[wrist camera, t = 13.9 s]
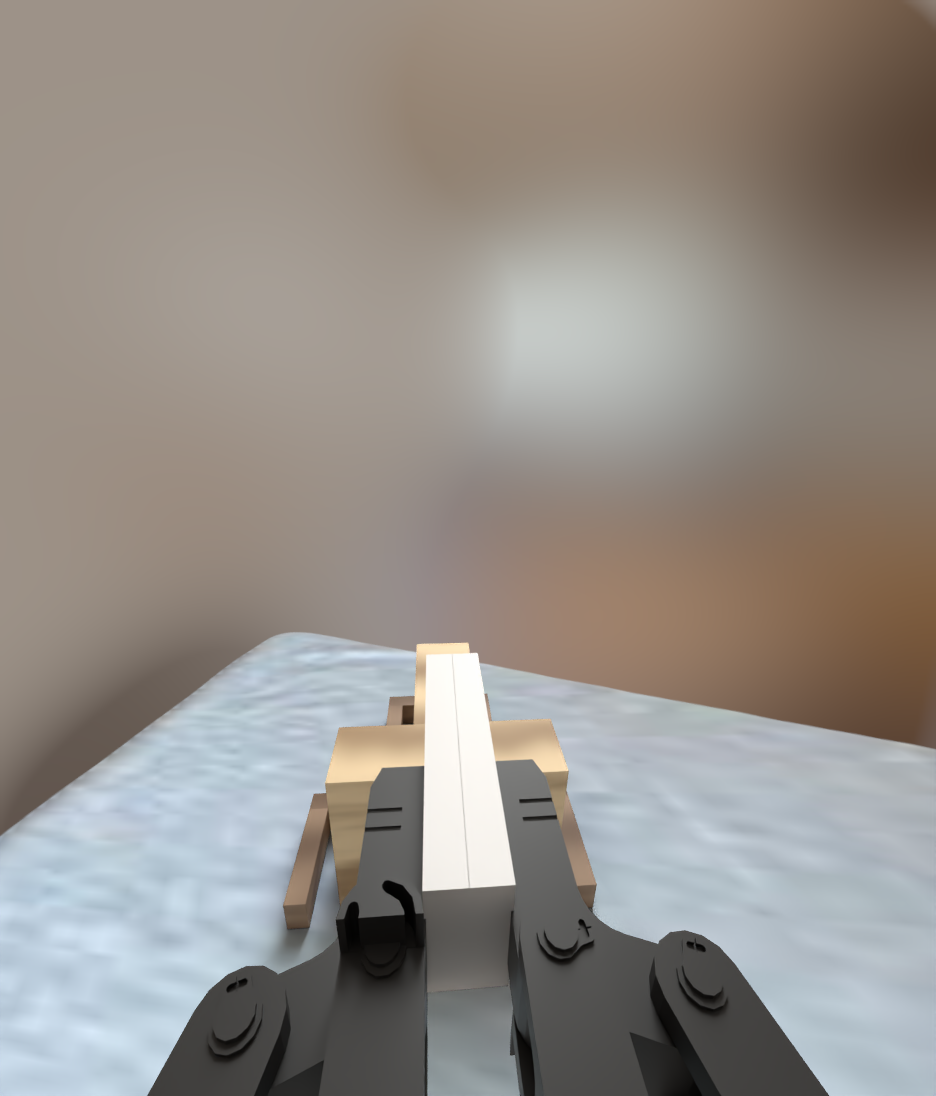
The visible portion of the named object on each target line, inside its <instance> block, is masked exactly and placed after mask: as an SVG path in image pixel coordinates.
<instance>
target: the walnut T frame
mask: <svg viewBox="0 0 936 1096" xmlns="http://www.w3.org/2000/svg"><path fill="white" fill-rule="evenodd" d="M484 695H485V701H486V707H487V713H488V719H489V721H492V719H491V713H490V708H489V702H488V696H487V694H484ZM414 702H415V696H406V697H390V701H389V709H388V717H387V725H386V726H390V725H403V724H409V723H414ZM330 830H331V827H330V819H329V811H328V802H327V794H326V793H323V794H314V796H313V799H312V803H311V806H310V810H309V814H308V817H307V821H306V825H305V828H304V832H303V835H302V839H301V843H300V846H299V850H298V854H297V857H296V861H295V864H294V868H293V872H292V875H291V879H290V882H289V886H288V890H287V893H286V897H285V901H284V904H283V908H284V913H285V918H286V923H287V929H295V928H309V927H310V922H311V918H312V913H313V908H314V904H315V899H316V895H317V890H318V885H319V881H320V876H321V872H322V867H323V863H324V858H325V853H326V849H327V844H328V840H329V835H330ZM561 831H562V834H563V838H564V842H565V845H566V849H567V852H568V856H569V859H570V863H571V866H572V870H573V873H574V877H575V880H576V884H577V887H578V890H579V892H580V895H581V897H582V899H583V901H584V902H585V904H586V905H587V907H588V908H591V907H593V903H594V897H595V891H596V885H597V884H596V881H595V878H594V875H593V872H592V869H591V866H590V863H589V859H588V856H587V853H586V850H585V847H584V844H583V841H582V838H581V835H580V832H579V828H578V825H577V822H576V819H575V816H574V813H573V810H572V807H571V804H570V801H569V797H568V794H567V791H566V796H565V804H564V812H563V820H562V828H561Z"/></svg>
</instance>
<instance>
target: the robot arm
mask: <svg viewBox="0 0 936 1096" xmlns="http://www.w3.org/2000/svg"><path fill="white" fill-rule="evenodd" d="M336 925H337V932H338V938H337V939H336V941H335V942H334V943H333V944H332V945H331V946H329V947H328V948H327V949H326V950H325V951H324V952H323V953H321V954H319V955H318V956H316V957H314V958H312V959H311V960H309V961H307V962H304V963H302V964H300V965H298V966H296V967H293V968H291V969H289V970H287V971H285V972H283V973H280V974H277V973H276V972H274V971H272V970H270V969H268V968H267V967H265V966H246V967H244V968H241V969H239V970H237V971H235V972H232V973H230V974H228V975H227V976H225V977H224V978H223V979H222V980H221V981H220V982H218V983H217V984H216V985H215V986H214V987H212V988H211V989H210V990H209V991H208V993H207V994H206V996H205V997H204V998H203V1000H202V1001H201V1003H200V1004H199V1005H198V1007H197V1008H196V1009H195V1011H194V1013H193V1014H192V1016H191V1018H190V1020H189V1022H188V1023H187V1025H186V1027H185V1029H184V1031H183V1032H182V1034H181V1036H180V1038H179V1040H178V1041H177V1043H176V1045H175V1047H174V1049H173V1050H172V1052H171V1054H170V1056H169V1058H168V1059H167V1061H166V1063H165V1065H164V1067H163V1068H162V1070H161V1072H160V1074H159V1076H158V1077H157V1079H156V1081H155V1083H154V1085H153V1086H152V1088H151V1090H150V1092H149V1094H148V1095H147V1096H427V1050H428V1038H427V993H430V992H442V991H454V990H465V989H477V988H489V987H501V986H508V980H510V988H511V995H512V1003H513V1015H512V1027H511V1041H510V1055H515V1058H516V1066H517V1075H518V1083H519V1091H520V1096H829V1095H828V1093H827V1092H826V1091H825V1089H824V1088H823V1086H822V1085H821V1084H820V1082H819V1081H818V1079H817V1078H816V1077H815V1075H814V1074H813V1072H812V1071H811V1070H810V1068H809V1067H808V1066H807V1064H806V1063H805V1061H804V1060H803V1059H802V1057H801V1056H800V1054H799V1053H798V1052H797V1050H796V1049H795V1047H794V1046H793V1045H792V1043H791V1042H790V1040H789V1039H788V1038H787V1036H786V1035H785V1033H784V1032H783V1031H782V1029H781V1028H780V1026H779V1025H778V1024H777V1022H776V1021H775V1019H774V1018H773V1017H772V1015H771V1014H770V1012H769V1011H768V1010H767V1008H766V1007H765V1005H764V1004H763V1003H762V1001H761V1000H760V999H759V997H758V996H757V994H756V993H755V992H754V990H753V989H752V987H751V986H750V985H749V983H748V982H747V980H746V979H745V978H744V976H743V975H742V973H741V972H740V971H739V969H738V968H737V966H736V965H735V964H734V963H733V961H732V960H731V959H730V958H729V957H728V956H727V955H726V954H725V953H724V952H723V950H722V949H721V948H720V947H719V946H717V945H716V944H714V943H713V942H711V941H710V940H708V939H707V938H705V937H704V936H702V935H699V934H695V933H692V932H689V931H685V930H684V931H677V932H670V933H669V934H668V935H666V936H665V937H664V938H663V939H661V940H660V941H659V944H656V943H653V942H649V941H646V940H643V939H640V938H636V937H633V936H630V935H626V934H623V933H621V932H619V931H616V930H614V929H612V928H610V927H609V926H607V925H606V924H604V923H603V922H601V921H600V920H599V919H598V918H597V917H596V916H595V915H594V914H593V913H592V912H591V911H590V910H589V908H588V907H587V905H586V904H585V902H584V901H583V899H582V897H581V895H580V892H579V890H578V887H577V884H576V880H575V877H574V873H573V870H572V866H571V863H570V859H569V856H568V852H567V849H566V845H565V842H564V838H563V834H562V831H561V827H560V824H559V820H558V819H557V813H556V810H555V806H554V803H553V802H552V796H551V792H550V789H549V785H548V781H547V778H546V776H545V775H544V773H543V772H542V771H541V770H540V768H539V767H538V766H537V764H536V763H535V762H534V761H533V759H528V760H507V761H495V756H494V750H493V744H492V738H491V732H490V726H489V719H488V713H487V707H486V701H485V695H484V689H483V683H482V677H481V671H480V665H479V659H478V654H477V653H464V654H431V655H426V699H425V760H424V766H410V767H389V768H382V769H381V771H380V772H379V774H378V776H377V777H376V779H375V781H374V782H373V784H372V786H371V787H370V794H369V801H368V808H367V815H366V822H365V832H364V836H363V843H362V850H361V857H360V864H359V870H358V877H357V884H356V885H355V886H354V887H353V888H352V889H351V891H350V892H349V893H348V895H347V896H346V897H345V898H344V900H343V901H342V903H341V906H340V909H339V912H338V915H337V918H336Z"/></svg>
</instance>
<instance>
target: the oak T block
mask: <svg viewBox="0 0 936 1096" xmlns="http://www.w3.org/2000/svg"><path fill="white" fill-rule="evenodd" d="M464 653H470V652H469V645H468V643H448V644H447V643H446V644H417V657H416V680H415V702H414V725H390V726H366V727H342V728H339V730H338V734H337V738H336V742H335V746H334V750H333V754H332V758H331V762H330V766H329V770H328V774H327V778H326V782H325V786H326V794H327V802H328V811H329V819H330V827H331V835H332V843H333V851H334V860H335V868H336V876H337V884H338V892H339V900H340V906H341V903H342V901H343V900H344V898H345V897H346V896H347V895H348V893H349V892H350V891H351V889H352V888H353V887H354V886H355V885H356V884H357V877H358V870H359V864H360V857H361V850H362V843H363V836H364V832H365V822H366V815H367V808H368V801H369V794H370V787H371V786H372V784H373V782H374V781H375V779H376V777H377V776H378V774H379V772H380V771H381V769H382V768H389V767H410V766H424V760H425V699H426V655H431V654H464ZM489 726H490V732H491V738H492V744H493V750H494V756H495V761H507V760H528V759H533V761H534V762H535V763H536V764H537V766H538V767H539V768H540V770H541V771H542V772H543V773H544V775H545V776H546V778H547V781H548V785H549V789H550V792H551V796H552V802H553V803H554V806H555V810H556V813H557V819H558V820H559V824H560V827H561V828H562V820H563V812H564V804H565V796H566V788H567V780H568V772H569V771H568V768H567V765H566V762H565V759H564V756H563V754H562V751H561V748H560V745H559V742H558V739H557V736H556V733H555V731H554V728H553V725H552V722H551V719H535V720H511V721H489Z"/></svg>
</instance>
